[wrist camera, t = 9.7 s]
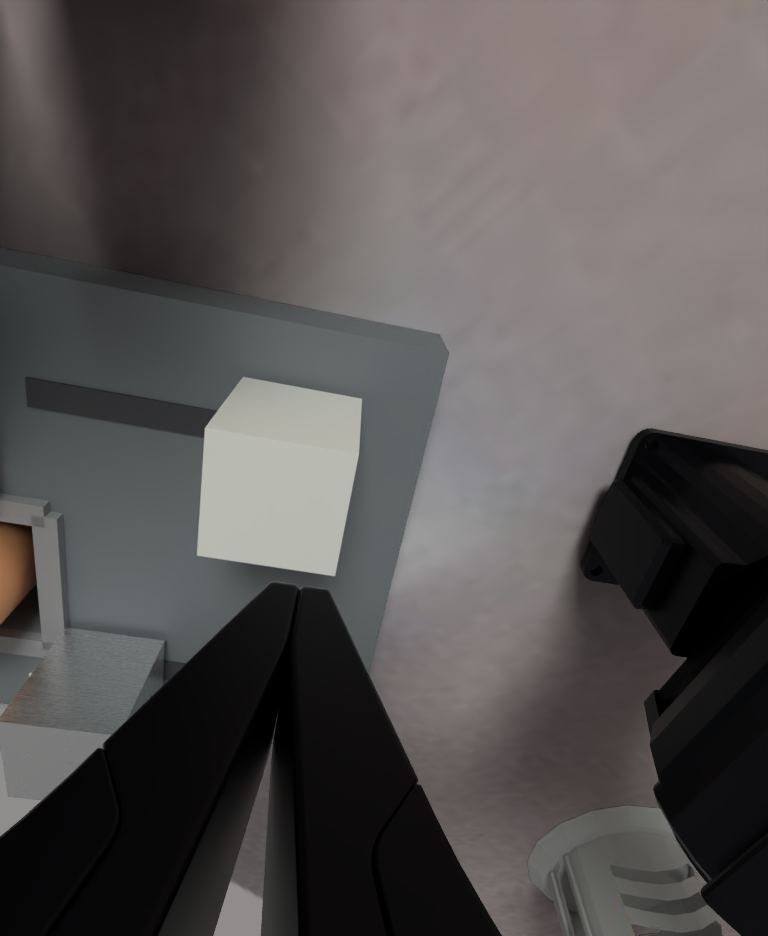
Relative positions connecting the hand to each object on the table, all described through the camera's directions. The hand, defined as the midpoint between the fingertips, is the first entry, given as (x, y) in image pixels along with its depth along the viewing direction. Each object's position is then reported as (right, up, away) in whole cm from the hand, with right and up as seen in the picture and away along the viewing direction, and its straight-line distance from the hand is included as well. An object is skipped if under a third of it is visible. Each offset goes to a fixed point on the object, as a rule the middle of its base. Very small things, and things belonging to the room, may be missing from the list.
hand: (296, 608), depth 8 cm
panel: (-7, 0, +13) cm, 15 cm away
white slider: (-1, +3, +9) cm, 9 cm away
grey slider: (-9, -5, +13) cm, 16 cm away
